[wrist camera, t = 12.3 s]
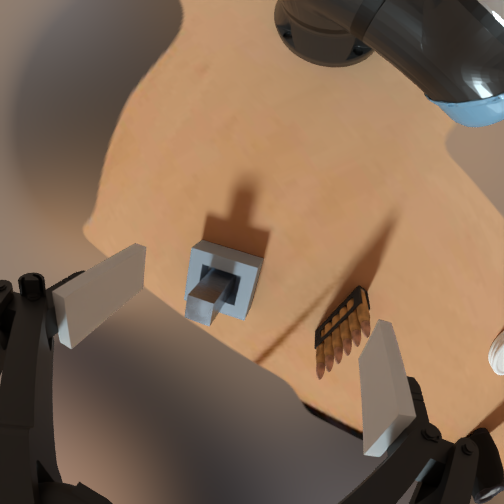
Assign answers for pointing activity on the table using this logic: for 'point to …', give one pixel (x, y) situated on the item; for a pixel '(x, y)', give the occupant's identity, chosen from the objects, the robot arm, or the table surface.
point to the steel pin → (209, 296)
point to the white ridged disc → (497, 354)
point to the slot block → (228, 261)
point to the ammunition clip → (342, 330)
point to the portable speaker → (487, 468)
